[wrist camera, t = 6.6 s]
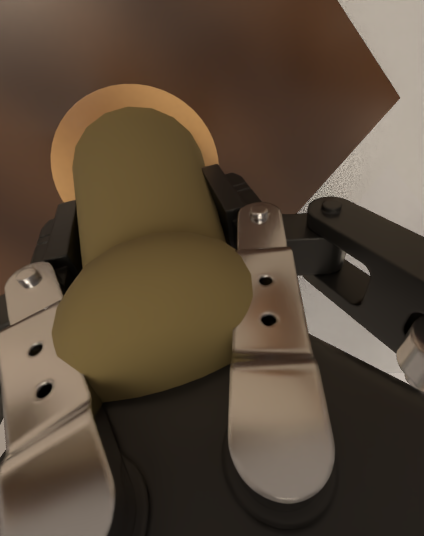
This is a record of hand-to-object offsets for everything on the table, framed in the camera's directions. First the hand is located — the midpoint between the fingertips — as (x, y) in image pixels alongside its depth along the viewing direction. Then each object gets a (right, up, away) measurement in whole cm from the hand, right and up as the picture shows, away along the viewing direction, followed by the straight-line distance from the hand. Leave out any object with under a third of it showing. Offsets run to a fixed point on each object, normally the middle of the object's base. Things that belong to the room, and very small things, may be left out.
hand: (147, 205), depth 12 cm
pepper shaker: (-1, +2, +2) cm, 3 cm away
